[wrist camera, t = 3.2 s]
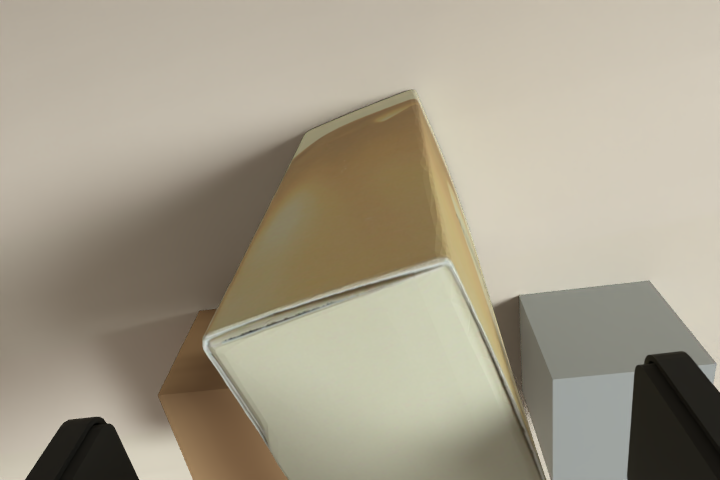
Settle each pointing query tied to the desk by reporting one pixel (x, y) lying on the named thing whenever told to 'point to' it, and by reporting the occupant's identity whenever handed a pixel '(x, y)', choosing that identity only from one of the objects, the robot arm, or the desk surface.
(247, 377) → the skincare box
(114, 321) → the desk surface
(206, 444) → the walnut block
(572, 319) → the slate grey block
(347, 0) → the desk surface
